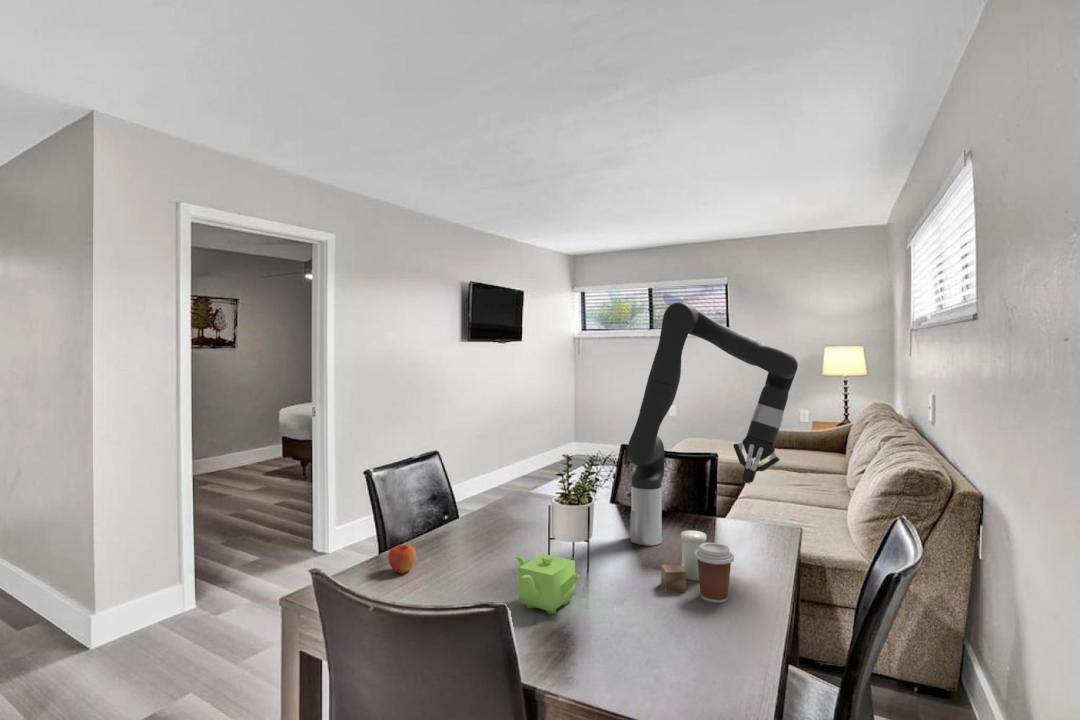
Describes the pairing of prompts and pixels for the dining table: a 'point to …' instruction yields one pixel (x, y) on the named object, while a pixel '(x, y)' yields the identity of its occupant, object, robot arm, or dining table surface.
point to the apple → (402, 558)
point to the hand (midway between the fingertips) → (746, 482)
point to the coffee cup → (714, 571)
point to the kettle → (546, 582)
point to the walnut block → (673, 578)
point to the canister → (691, 552)
